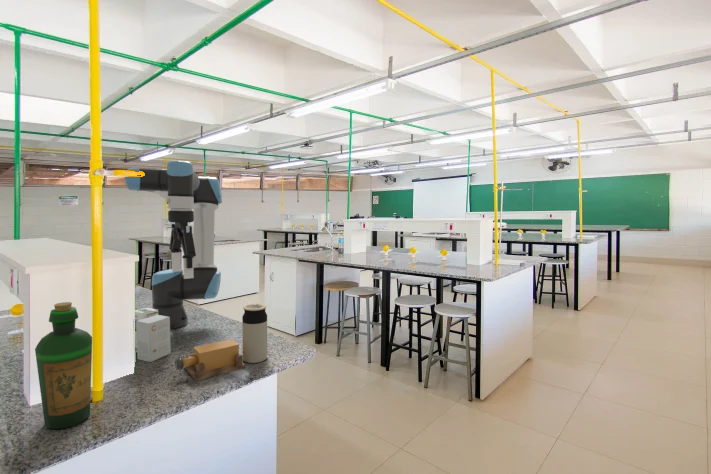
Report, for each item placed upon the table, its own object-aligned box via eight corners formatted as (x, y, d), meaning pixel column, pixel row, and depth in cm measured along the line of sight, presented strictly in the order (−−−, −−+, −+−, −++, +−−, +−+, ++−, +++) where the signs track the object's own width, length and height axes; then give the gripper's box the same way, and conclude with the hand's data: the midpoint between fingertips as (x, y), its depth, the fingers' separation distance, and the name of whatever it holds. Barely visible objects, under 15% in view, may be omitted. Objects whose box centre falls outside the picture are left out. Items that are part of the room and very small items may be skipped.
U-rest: (195, 381, 109) (195, 367, 108) (184, 367, 117) (184, 354, 117) (244, 367, 118) (244, 354, 118) (231, 356, 127) (231, 344, 127)
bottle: (65, 436, 82) (59, 312, 80) (26, 430, 84) (19, 308, 82) (106, 411, 92) (102, 300, 90) (71, 405, 95) (66, 296, 92)
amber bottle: (231, 356, 124) (231, 339, 124) (238, 362, 120) (238, 344, 119) (174, 370, 113) (173, 351, 113) (179, 378, 108) (178, 358, 108)
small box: (157, 350, 131) (156, 314, 130) (171, 353, 128) (170, 316, 127) (136, 359, 123) (135, 320, 122) (150, 362, 121) (149, 323, 120)
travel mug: (258, 365, 120) (258, 310, 119) (237, 361, 123) (237, 307, 122) (271, 356, 128) (271, 304, 126) (252, 352, 130) (252, 302, 129)
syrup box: (133, 351, 129) (132, 310, 128) (149, 346, 134) (148, 306, 133) (144, 355, 127) (142, 313, 125) (159, 349, 132) (158, 309, 131)
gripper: (158, 208, 128) (160, 269, 130) (179, 211, 109) (181, 283, 111) (182, 208, 132) (183, 267, 134) (206, 211, 114) (207, 280, 116)
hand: (182, 274), depth 123 cm, fingers open, 13 cm apart
